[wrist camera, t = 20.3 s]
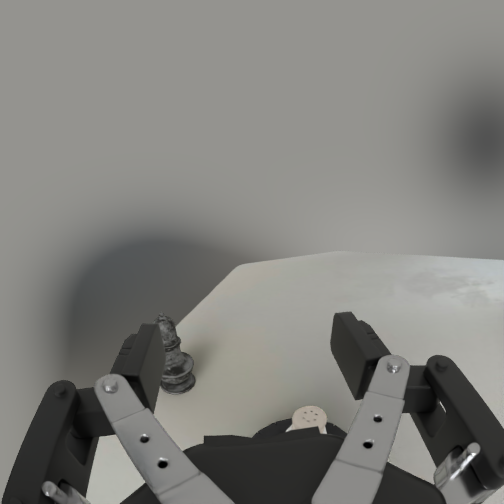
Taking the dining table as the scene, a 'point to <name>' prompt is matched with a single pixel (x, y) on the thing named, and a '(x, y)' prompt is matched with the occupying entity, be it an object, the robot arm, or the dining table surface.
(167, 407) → the dining table surface
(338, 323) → the robot arm
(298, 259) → the dining table surface
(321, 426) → the pepper shaker
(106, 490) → the dining table surface
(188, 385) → the grey chess piece
